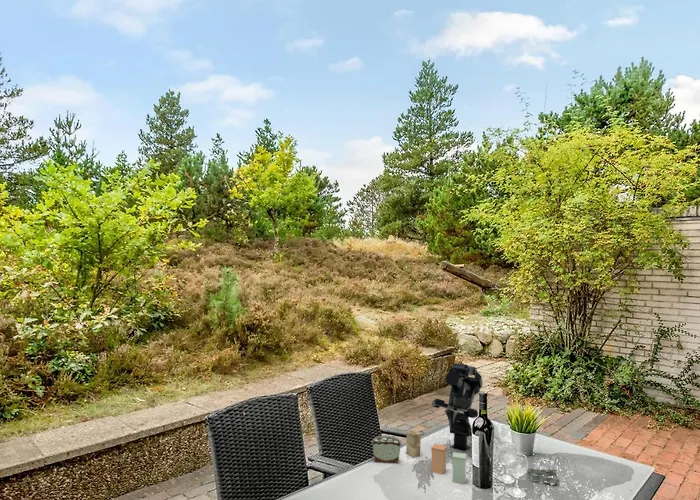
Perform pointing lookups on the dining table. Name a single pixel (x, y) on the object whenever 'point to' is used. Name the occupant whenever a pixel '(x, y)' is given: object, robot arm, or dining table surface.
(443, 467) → the orange rectangular block
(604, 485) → the dining table surface
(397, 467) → the dining table surface
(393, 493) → the dining table surface
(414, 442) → the oak key
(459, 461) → the sage key
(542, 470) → the egg carton
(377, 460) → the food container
